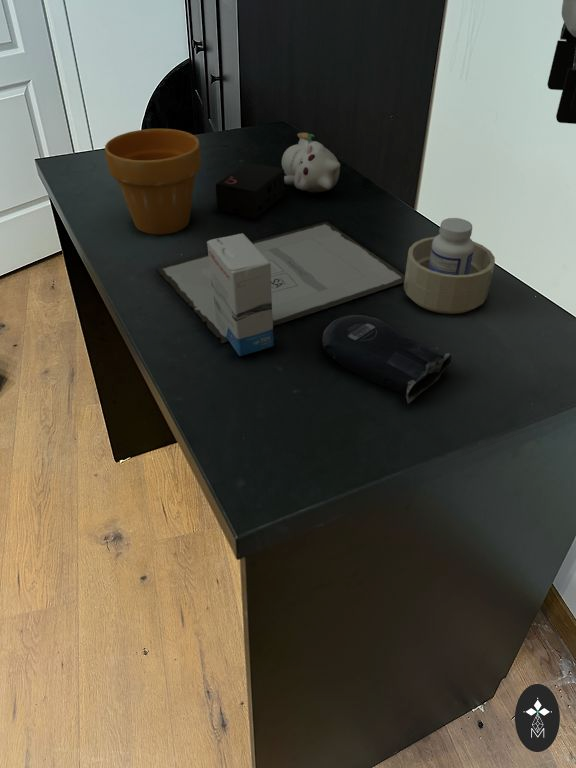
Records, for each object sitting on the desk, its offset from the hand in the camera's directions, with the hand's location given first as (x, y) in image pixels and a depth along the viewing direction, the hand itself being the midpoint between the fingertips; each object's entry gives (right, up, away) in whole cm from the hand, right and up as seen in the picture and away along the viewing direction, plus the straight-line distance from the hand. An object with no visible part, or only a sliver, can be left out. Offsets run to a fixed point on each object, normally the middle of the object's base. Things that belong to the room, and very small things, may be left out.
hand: (569, 105), depth 57 cm
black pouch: (-14, -22, +22) cm, 34 cm away
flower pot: (-45, +2, +50) cm, 68 cm away
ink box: (-30, -18, +25) cm, 43 cm away
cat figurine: (-20, +11, +62) cm, 66 cm away
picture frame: (-25, -9, +37) cm, 46 cm away
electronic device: (-31, +7, +56) cm, 65 cm away
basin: (-3, -12, +33) cm, 35 cm away
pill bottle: (-3, -12, +33) cm, 35 cm away
